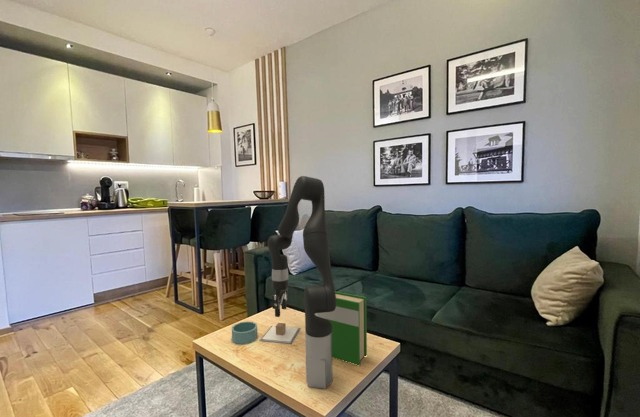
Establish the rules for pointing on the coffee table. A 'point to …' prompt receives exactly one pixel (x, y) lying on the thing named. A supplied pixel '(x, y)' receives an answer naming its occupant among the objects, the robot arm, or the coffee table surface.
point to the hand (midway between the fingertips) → (280, 312)
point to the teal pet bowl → (244, 333)
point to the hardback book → (348, 327)
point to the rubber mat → (281, 342)
